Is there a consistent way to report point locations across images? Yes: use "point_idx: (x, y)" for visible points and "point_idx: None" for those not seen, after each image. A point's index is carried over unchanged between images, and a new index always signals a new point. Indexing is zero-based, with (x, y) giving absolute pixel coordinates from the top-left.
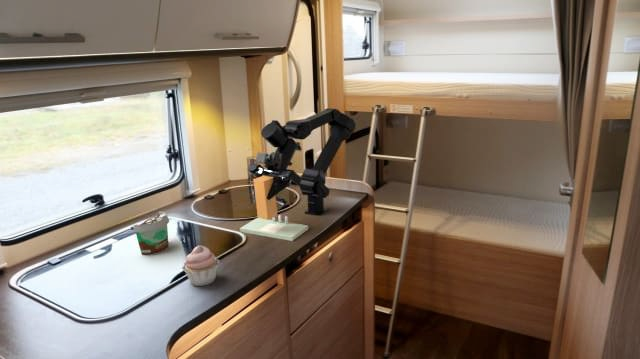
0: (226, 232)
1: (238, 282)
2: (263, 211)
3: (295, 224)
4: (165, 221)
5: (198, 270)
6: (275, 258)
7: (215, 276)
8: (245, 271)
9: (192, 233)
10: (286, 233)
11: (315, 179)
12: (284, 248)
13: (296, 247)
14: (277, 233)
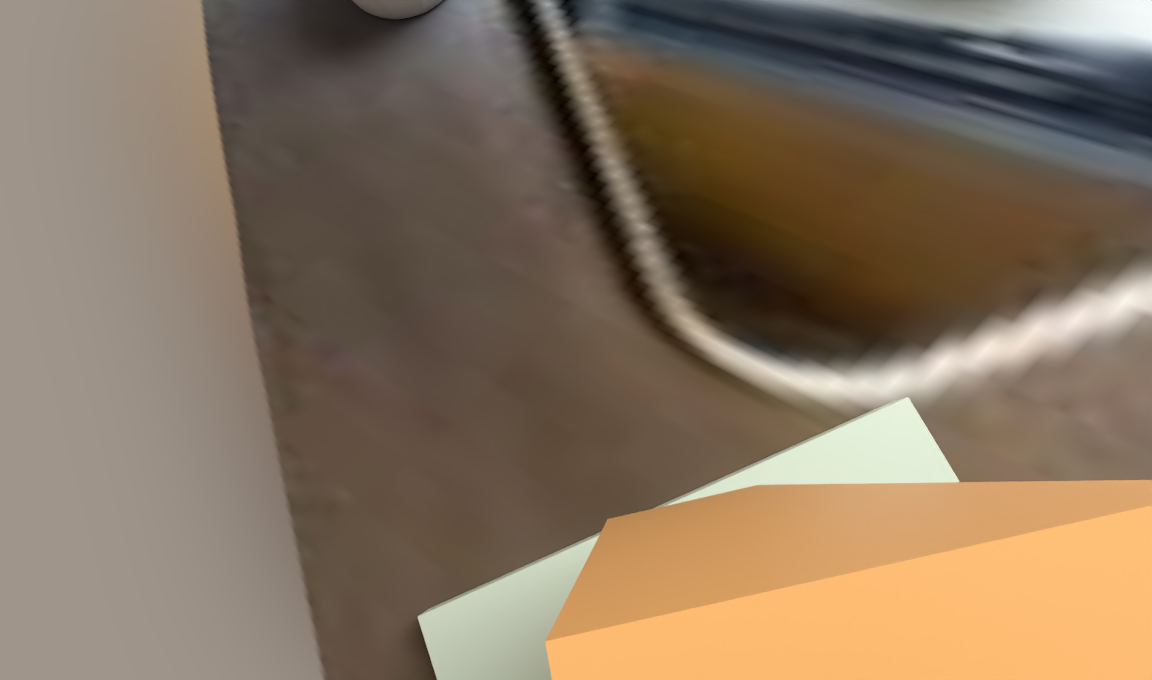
0: (951, 316)
1: (257, 82)
2: (663, 511)
3: None
4: None
5: None
6: (309, 351)
7: (356, 2)
8: (320, 152)
9: (1098, 126)
10: (516, 633)
11: None
12: (376, 481)
13: (322, 556)
14: (574, 574)
